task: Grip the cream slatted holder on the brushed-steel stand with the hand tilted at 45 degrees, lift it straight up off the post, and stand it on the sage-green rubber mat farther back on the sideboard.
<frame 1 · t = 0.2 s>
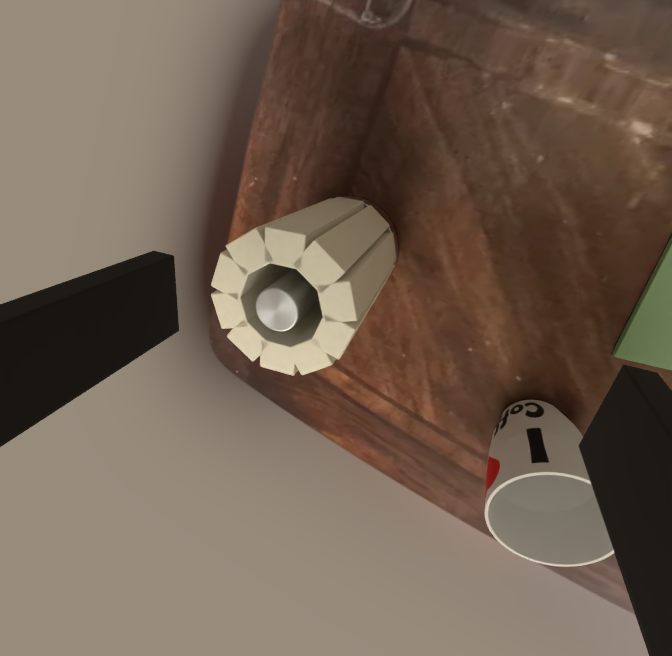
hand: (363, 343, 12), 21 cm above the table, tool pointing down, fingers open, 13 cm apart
cup: (531, 423, 34), on the table
cream slatted holder: (344, 251, 31), point 1 cm above the table, touching stand
stand: (349, 247, 32), on the table
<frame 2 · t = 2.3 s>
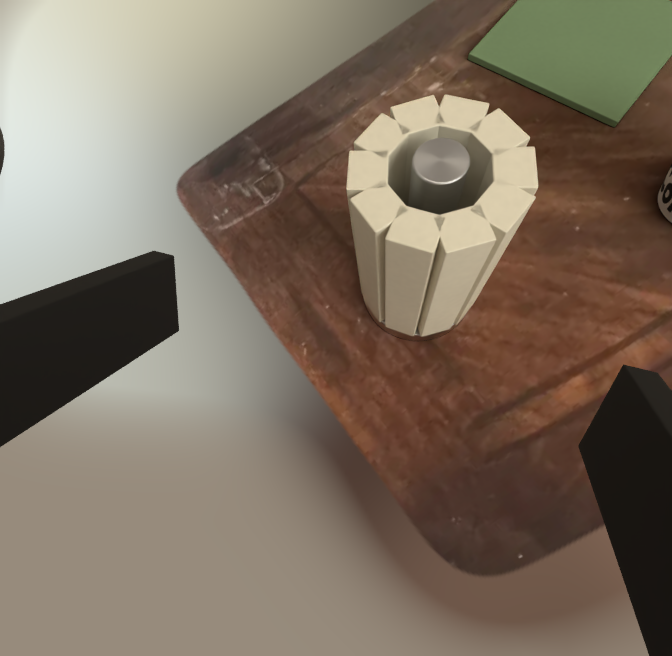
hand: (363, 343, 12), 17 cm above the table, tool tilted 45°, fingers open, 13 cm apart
cream slatted holder: (417, 282, 28), point 1 cm above the table, touching stand
mat: (580, 40, 35), on the table
stand: (416, 290, 30), on the table
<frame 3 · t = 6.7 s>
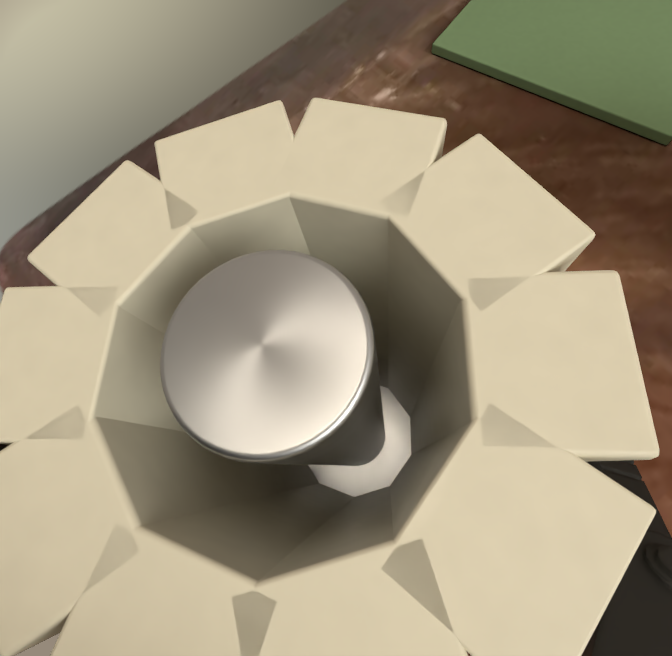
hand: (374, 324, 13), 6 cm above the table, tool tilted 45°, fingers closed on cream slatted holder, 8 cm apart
cream slatted holder: (355, 434, 16), point 2 cm above the table, touching gripper, stand
mat: (597, 17, 24), on the table
stand: (357, 437, 17), on the table
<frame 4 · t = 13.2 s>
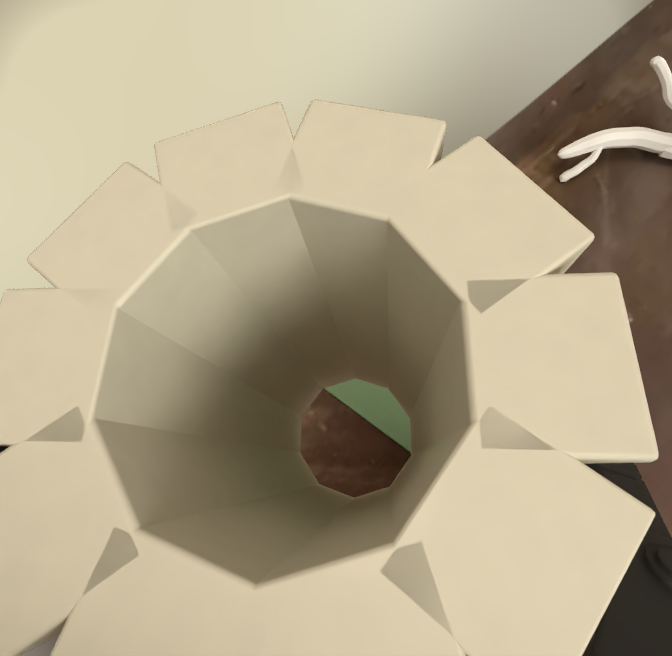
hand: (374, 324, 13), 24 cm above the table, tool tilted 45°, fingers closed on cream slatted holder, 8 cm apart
cream slatted holder: (354, 435, 16), point 20 cm above the table, touching gripper
mat: (417, 362, 36), on the table
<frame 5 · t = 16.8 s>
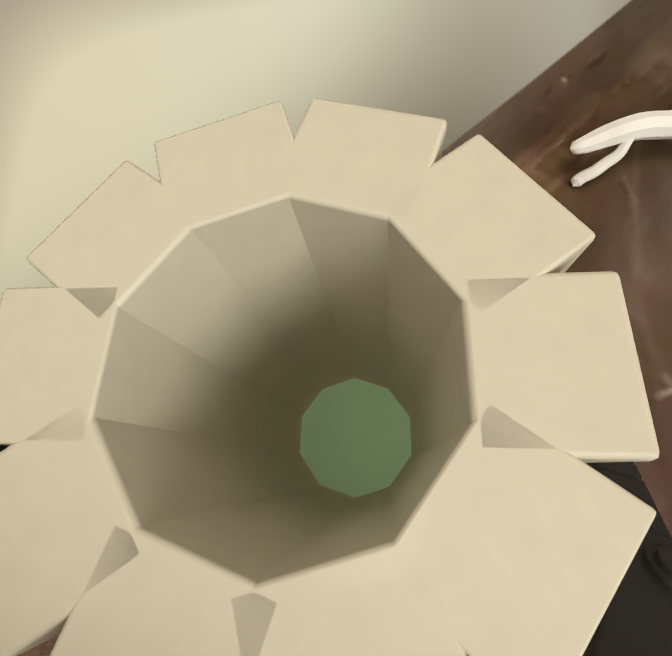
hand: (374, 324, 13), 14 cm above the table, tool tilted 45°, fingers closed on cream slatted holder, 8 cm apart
cream slatted holder: (355, 435, 16), point 10 cm above the table, touching gripper
mat: (366, 445, 25), on the table
when the fingers open (5 cm above the table, at t = 19.8 s): cream slatted holder stays where it is, resting on mat.
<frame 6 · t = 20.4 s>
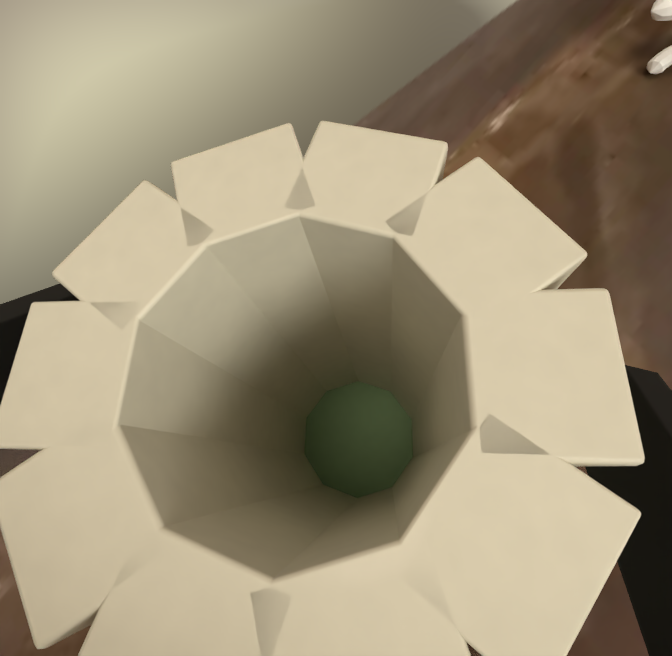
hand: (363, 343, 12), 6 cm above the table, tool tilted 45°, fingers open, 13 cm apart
cream slatted holder: (357, 436, 16), point 1 cm above the table, touching mat
mat: (357, 436, 17), on the table
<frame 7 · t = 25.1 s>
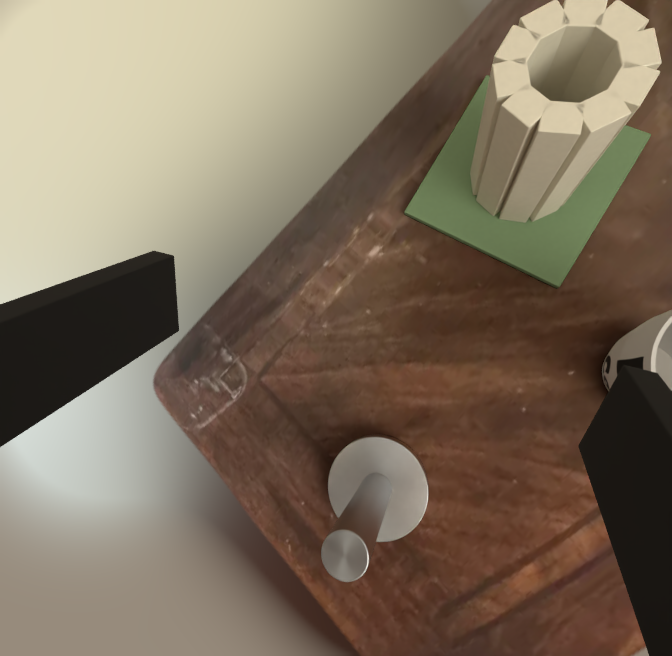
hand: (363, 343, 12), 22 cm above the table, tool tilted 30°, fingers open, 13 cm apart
cup: (639, 374, 30), on the table
cream slatted holder: (521, 175, 33), point 1 cm above the table, touching mat
mat: (519, 178, 33), on the table
stand: (378, 483, 33), on the table
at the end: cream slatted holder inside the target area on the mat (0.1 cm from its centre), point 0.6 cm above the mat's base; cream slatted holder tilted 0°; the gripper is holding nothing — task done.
